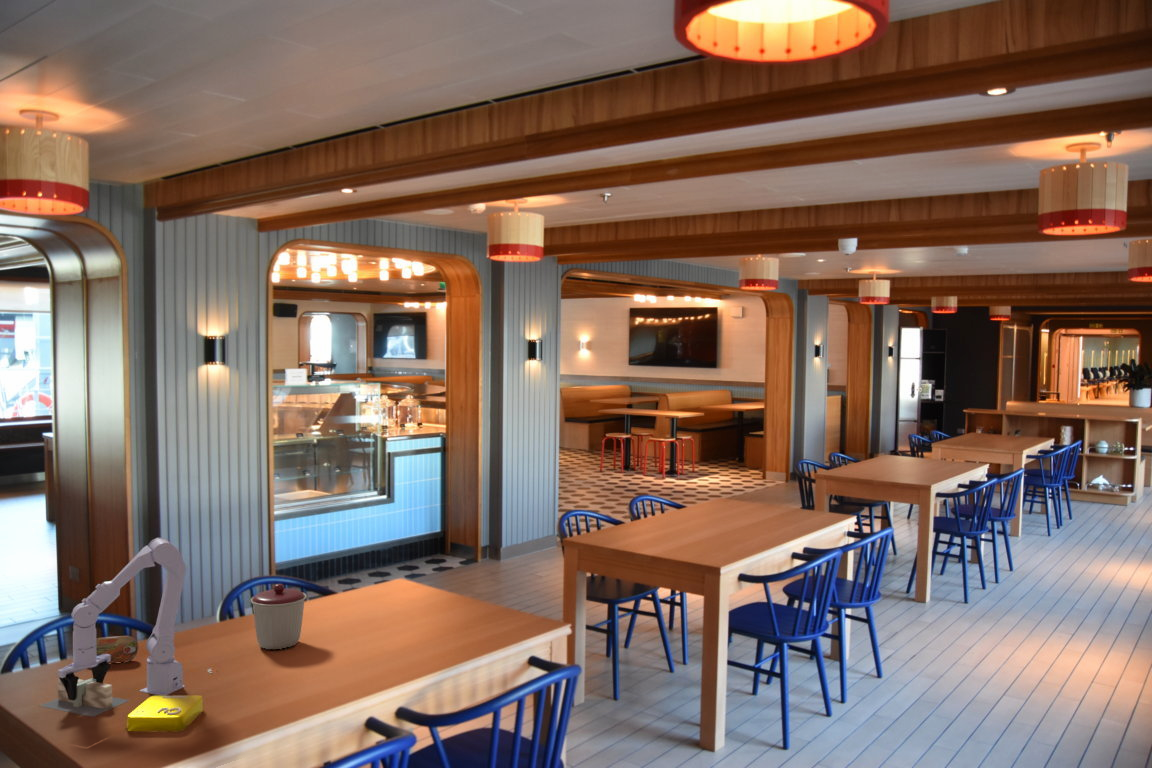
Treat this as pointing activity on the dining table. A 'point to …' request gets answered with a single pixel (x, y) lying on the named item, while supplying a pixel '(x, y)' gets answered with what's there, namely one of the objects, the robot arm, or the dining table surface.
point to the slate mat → (81, 707)
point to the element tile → (165, 713)
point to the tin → (117, 648)
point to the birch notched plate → (90, 694)
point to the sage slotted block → (81, 692)
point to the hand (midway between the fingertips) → (84, 694)
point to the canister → (278, 616)
